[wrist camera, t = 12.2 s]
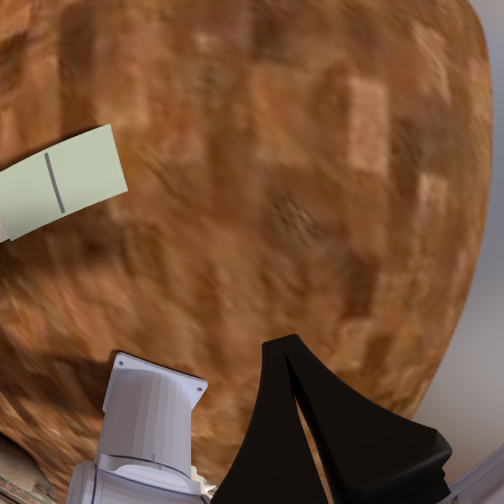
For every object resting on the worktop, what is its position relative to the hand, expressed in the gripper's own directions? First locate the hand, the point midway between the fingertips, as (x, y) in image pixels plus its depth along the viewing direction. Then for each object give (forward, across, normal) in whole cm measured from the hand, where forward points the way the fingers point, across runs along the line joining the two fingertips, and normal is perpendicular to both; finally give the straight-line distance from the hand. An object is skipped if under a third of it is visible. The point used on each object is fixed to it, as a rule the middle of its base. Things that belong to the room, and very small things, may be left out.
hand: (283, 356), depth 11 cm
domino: (+8, +6, -9) cm, 13 cm away
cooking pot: (+10, +49, +25) cm, 56 cm away
